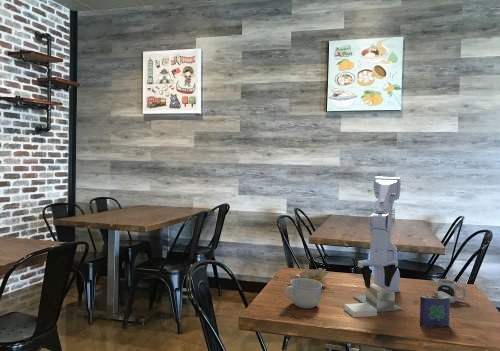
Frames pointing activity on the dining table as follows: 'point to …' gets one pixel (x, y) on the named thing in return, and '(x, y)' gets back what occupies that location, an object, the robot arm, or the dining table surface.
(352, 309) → the tile
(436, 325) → the flask
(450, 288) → the mug
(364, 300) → the mat
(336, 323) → the dining table surface
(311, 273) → the decorative flower
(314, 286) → the teacup
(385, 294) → the pusher
